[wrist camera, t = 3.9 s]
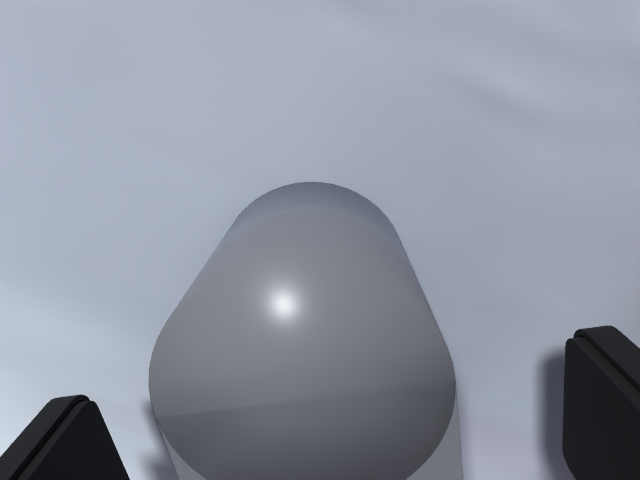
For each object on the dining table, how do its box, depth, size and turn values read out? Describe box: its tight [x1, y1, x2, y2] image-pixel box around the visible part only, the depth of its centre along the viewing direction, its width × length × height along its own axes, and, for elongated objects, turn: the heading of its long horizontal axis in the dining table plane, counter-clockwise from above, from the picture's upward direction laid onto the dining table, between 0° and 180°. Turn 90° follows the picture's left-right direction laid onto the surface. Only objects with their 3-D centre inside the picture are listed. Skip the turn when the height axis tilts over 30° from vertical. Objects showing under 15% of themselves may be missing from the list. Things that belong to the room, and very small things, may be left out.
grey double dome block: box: [149, 182, 463, 480], centre depth 9 cm, size 4×11×4 cm, turn 10°
